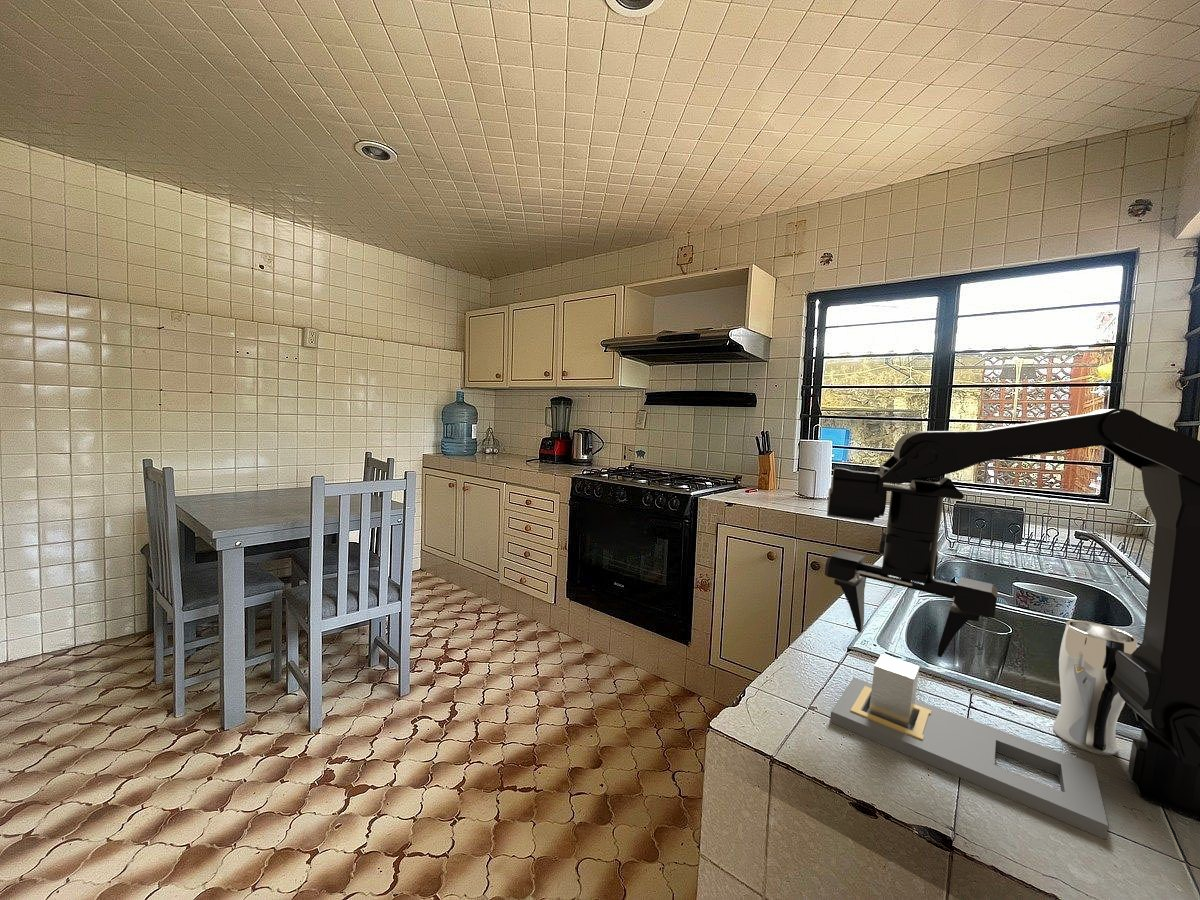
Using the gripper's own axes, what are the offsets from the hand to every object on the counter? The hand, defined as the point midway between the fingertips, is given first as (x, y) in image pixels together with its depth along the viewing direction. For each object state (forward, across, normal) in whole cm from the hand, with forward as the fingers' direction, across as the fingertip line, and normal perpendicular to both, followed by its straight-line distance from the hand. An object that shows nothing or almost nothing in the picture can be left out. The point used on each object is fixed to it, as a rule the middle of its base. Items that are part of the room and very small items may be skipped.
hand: (898, 643), depth 66 cm
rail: (+11, -7, 0) cm, 13 cm away
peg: (+11, 0, 0) cm, 11 cm away
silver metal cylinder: (+11, -20, -15) cm, 28 cm away
